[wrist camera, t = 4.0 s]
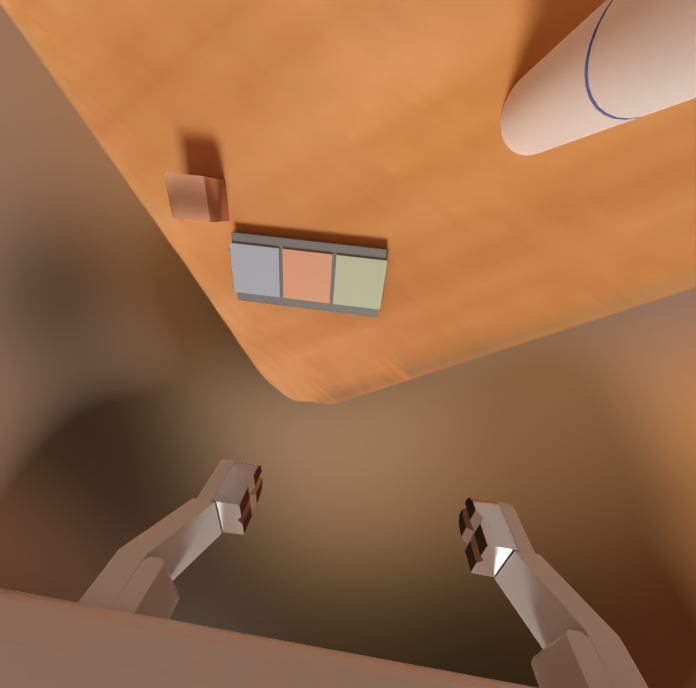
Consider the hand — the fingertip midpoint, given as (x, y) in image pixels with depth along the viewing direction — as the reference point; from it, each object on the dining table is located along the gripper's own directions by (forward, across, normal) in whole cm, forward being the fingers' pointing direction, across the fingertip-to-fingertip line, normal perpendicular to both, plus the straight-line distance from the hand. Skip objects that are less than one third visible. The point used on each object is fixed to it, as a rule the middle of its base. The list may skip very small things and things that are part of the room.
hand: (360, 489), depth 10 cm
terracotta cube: (+29, +22, -9) cm, 38 cm away
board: (+29, +9, -1) cm, 31 cm away
